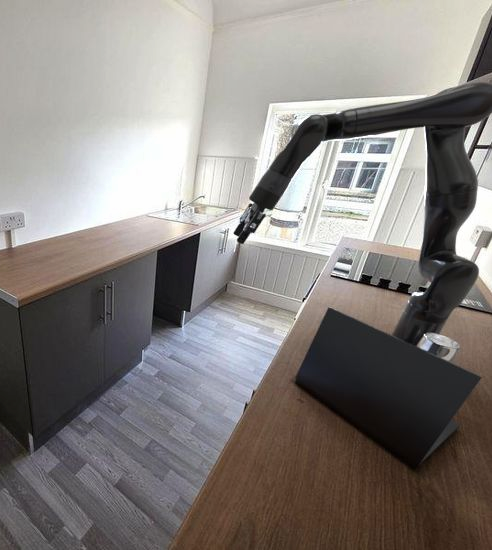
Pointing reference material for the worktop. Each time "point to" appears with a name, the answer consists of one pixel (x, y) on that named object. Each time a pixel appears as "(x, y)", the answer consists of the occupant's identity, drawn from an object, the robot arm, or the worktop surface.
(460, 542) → the worktop surface
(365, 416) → the laptop screen
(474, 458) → the worktop surface
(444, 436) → the laptop
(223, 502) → the worktop surface
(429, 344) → the beer glass
